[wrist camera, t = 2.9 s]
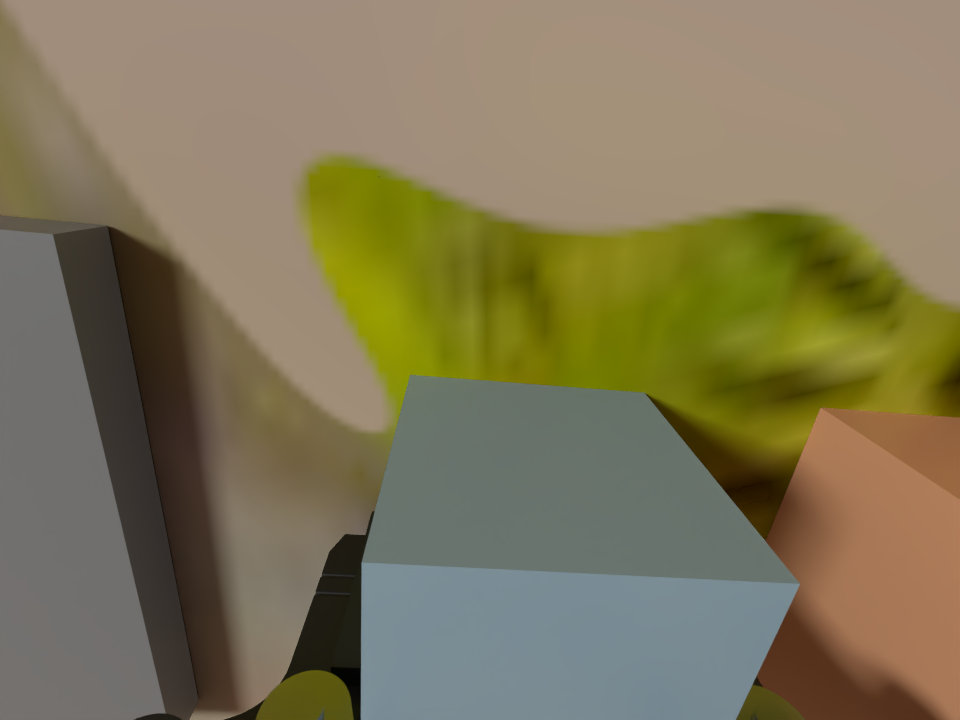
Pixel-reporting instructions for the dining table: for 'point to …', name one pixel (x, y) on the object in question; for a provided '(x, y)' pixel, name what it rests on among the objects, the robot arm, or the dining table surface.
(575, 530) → the slate brick
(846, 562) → the terracotta brick
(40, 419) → the baseplate
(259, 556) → the dining table surface
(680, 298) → the dining table surface
